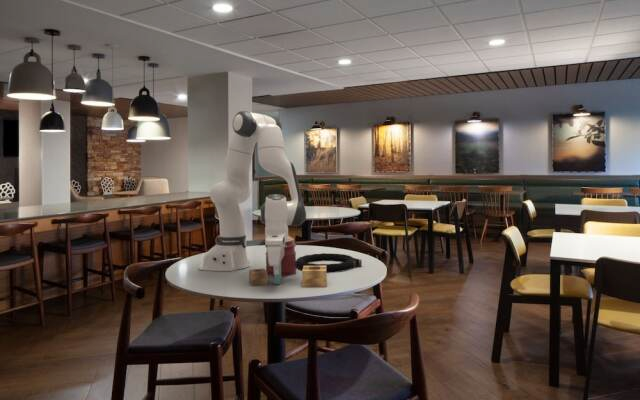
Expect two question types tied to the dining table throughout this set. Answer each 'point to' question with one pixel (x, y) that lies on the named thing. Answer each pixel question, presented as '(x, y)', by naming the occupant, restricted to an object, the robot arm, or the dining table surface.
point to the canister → (285, 259)
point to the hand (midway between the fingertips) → (277, 272)
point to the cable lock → (346, 259)
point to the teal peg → (278, 276)
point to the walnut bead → (258, 277)
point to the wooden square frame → (314, 276)
